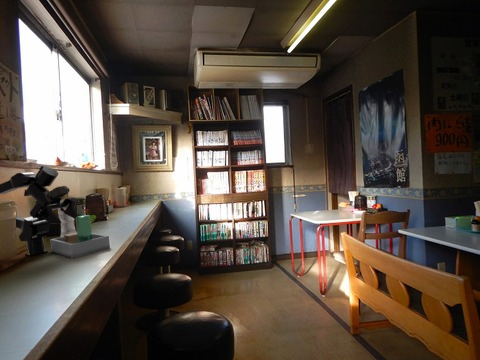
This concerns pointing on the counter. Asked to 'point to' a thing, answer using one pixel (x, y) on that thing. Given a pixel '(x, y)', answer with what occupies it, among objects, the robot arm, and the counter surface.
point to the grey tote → (80, 246)
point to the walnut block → (71, 238)
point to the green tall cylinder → (83, 228)
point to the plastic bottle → (66, 223)
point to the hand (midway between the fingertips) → (69, 220)
